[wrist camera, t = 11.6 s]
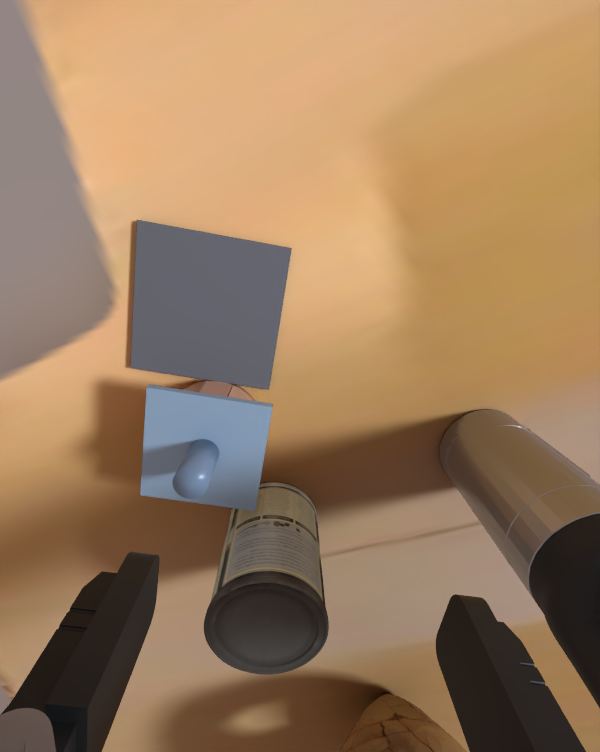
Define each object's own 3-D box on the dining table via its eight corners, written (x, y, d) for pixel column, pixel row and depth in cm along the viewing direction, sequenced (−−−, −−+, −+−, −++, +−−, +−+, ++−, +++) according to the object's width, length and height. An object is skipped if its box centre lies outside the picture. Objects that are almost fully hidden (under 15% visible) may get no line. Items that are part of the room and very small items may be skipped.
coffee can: (329, 540, 47) (344, 657, 33) (249, 564, 48) (232, 688, 34) (300, 469, 44) (304, 566, 30) (216, 496, 45) (182, 602, 31)
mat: (291, 248, 36) (291, 248, 36) (269, 387, 41) (268, 389, 40) (139, 220, 35) (137, 219, 35) (132, 366, 40) (130, 367, 39)
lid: (272, 403, 35) (269, 432, 30) (256, 506, 38) (249, 548, 33) (149, 384, 34) (122, 409, 29) (143, 490, 38) (117, 531, 32)
